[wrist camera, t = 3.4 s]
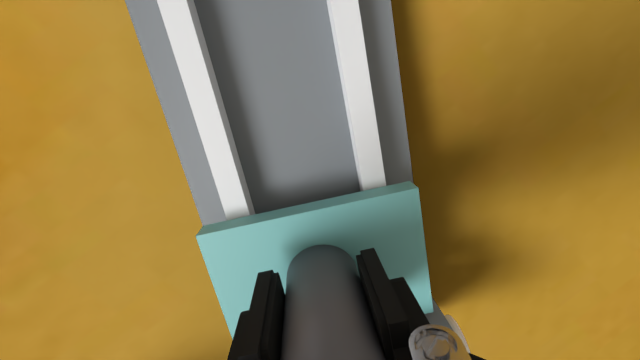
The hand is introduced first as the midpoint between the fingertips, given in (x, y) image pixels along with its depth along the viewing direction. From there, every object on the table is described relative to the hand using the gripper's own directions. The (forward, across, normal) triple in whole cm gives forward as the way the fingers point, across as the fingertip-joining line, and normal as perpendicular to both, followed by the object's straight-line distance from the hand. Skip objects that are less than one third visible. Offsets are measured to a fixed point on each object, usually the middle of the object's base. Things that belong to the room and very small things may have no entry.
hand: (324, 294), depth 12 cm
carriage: (+2, 0, 0) cm, 2 cm away
